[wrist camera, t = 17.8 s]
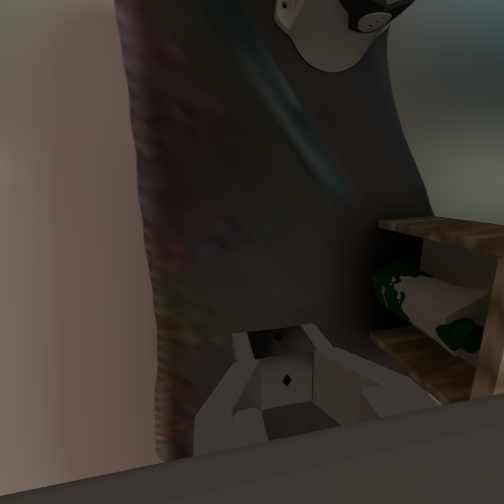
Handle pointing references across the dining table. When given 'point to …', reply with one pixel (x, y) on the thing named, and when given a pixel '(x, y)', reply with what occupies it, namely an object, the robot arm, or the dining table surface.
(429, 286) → the milk carton
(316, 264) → the dining table surface
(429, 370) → the wooden shelf
